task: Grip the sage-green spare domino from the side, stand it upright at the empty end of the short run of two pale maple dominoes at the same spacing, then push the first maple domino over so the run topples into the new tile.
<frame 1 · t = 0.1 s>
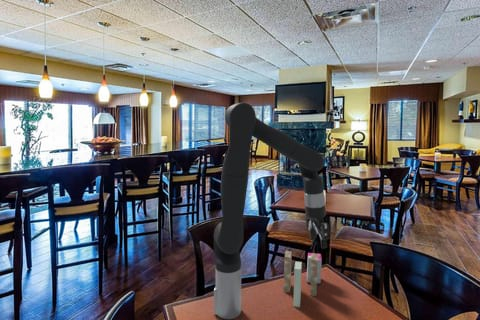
hand: (318, 243, 117), 22 cm above the table, tool pointing down, fingers open, 8 cm apart
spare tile: (297, 302, 117), on the table
tile 1: (287, 288, 127), on the table
tile 2: (313, 291, 124), on the table
supplement box: (313, 281, 133), on the table
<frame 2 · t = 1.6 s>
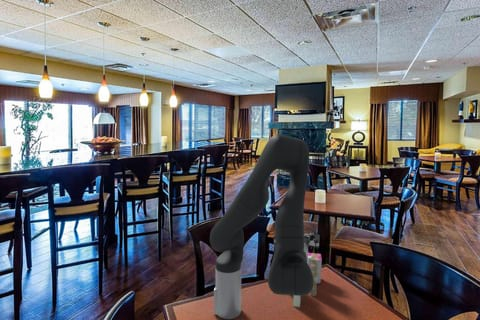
hand: (297, 231, 103), 32 cm above the table, tool horizontal, fingers open, 8 cm apart
nothing on the table moved.
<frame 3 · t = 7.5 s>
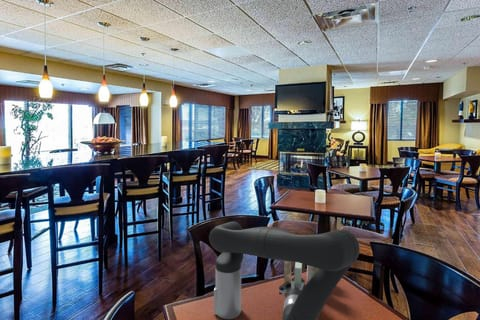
hand: (298, 279, 119), 8 cm above the table, tool horizontal, fingers closed on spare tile, 2 cm apart
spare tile: (297, 300, 118), on the table, touching gripper
everything else where it was.
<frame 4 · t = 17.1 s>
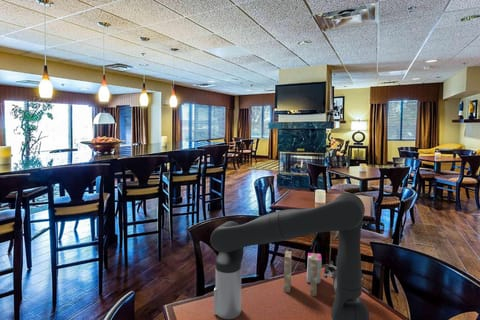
hand: (341, 264, 122), 12 cm above the table, tool horizontal, fingers open, 6 cm apart
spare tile: (340, 292, 123), on the table
everything else where it was.
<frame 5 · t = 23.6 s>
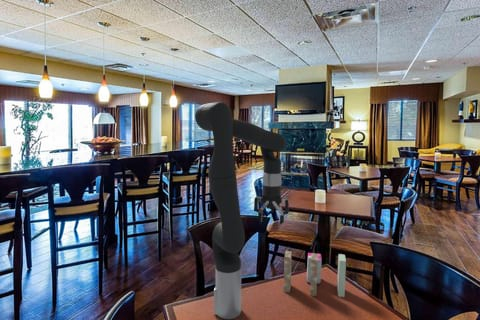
hand: (270, 222, 125), 28 cm above the table, tool pointing down, fingers open, 8 cm apart
nothing on the table moved.
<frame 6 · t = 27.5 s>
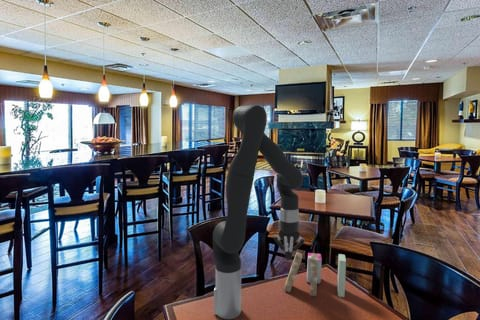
hand: (288, 259, 125), 13 cm above the table, tool pointing down, fingers closed
tile 1: (287, 287, 126), on the table, tilted 17°
everything else where it was.
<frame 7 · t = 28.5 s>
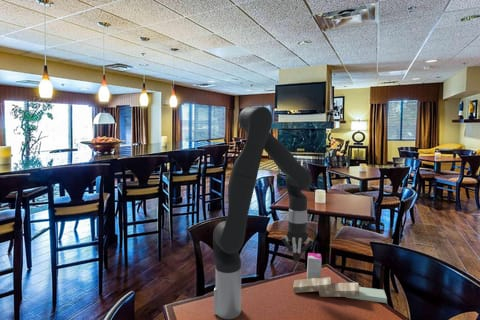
hand: (296, 260, 124), 13 cm above the table, tool pointing down, fingers closed
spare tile: (344, 291, 123), point 1 cm above the table, tilted 90°, touching tile 2
tile 1: (294, 286, 126), point 1 cm above the table, tilted 76°, touching tile 2
tile 2: (319, 289, 123), point 1 cm above the table, tilted 79°, touching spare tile, tile 1
everything else where it was.
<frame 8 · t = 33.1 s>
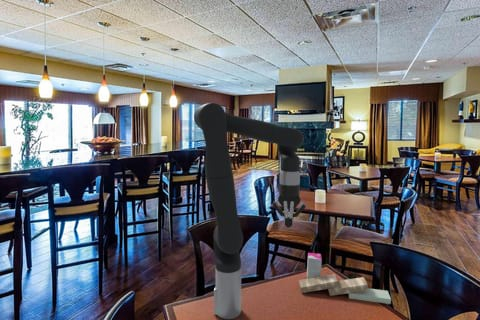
hand: (288, 226, 116), 29 cm above the table, tool pointing down, fingers closed
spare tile: (348, 292, 122), point 1 cm above the table, tilted 90°
tile 1: (300, 286, 126), point 1 cm above the table, tilted 77°, touching tile 2
tile 2: (328, 289, 124), point 1 cm above the table, tilted 76°, touching tile 1
everything else where it was.
at the end: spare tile inside the target area (2.4 cm from its centre), point 0.7 cm above the table; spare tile tilted 90°; tile 2 tilted 76° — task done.
